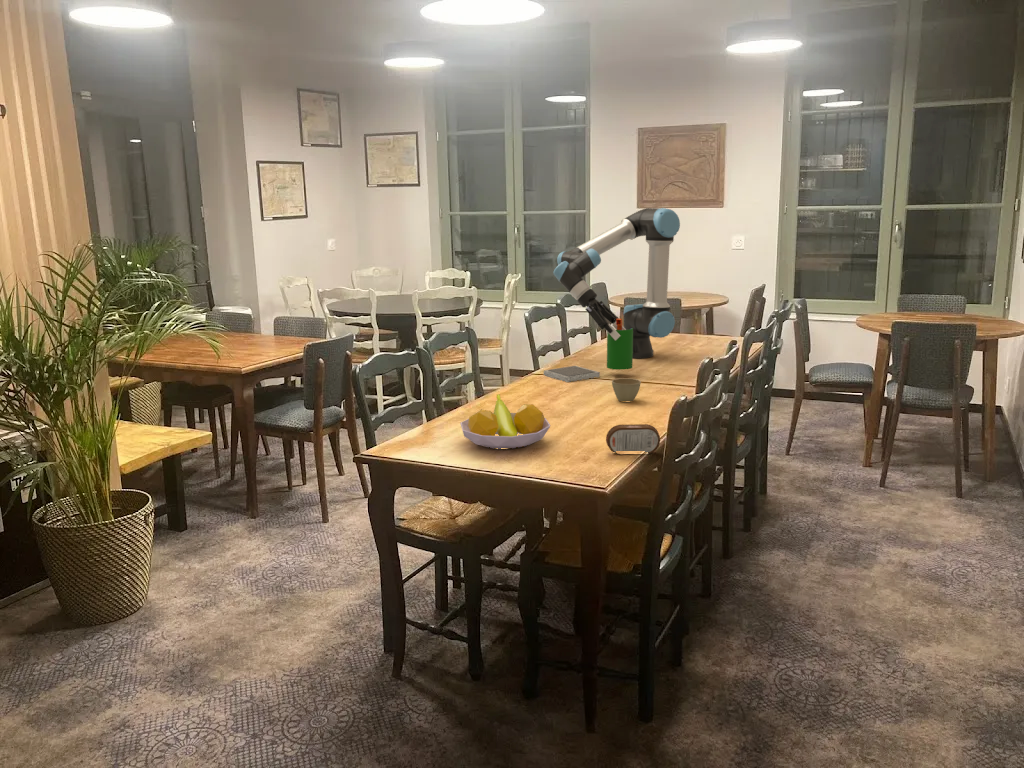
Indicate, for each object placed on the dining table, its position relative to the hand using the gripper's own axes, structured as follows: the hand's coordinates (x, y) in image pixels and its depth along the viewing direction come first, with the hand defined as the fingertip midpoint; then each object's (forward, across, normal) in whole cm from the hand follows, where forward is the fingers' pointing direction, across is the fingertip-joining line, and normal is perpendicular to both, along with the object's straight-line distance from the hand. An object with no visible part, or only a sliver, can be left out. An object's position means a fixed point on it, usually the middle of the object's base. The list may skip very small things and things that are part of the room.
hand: (621, 336), depth 331 cm
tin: (+38, +95, +16) cm, 104 cm away
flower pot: (+22, +38, 0) cm, 44 cm away
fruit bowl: (+11, +99, -11) cm, 101 cm away
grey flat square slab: (-2, +8, -24) cm, 26 cm away
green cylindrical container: (+9, 0, -10) cm, 13 cm away
